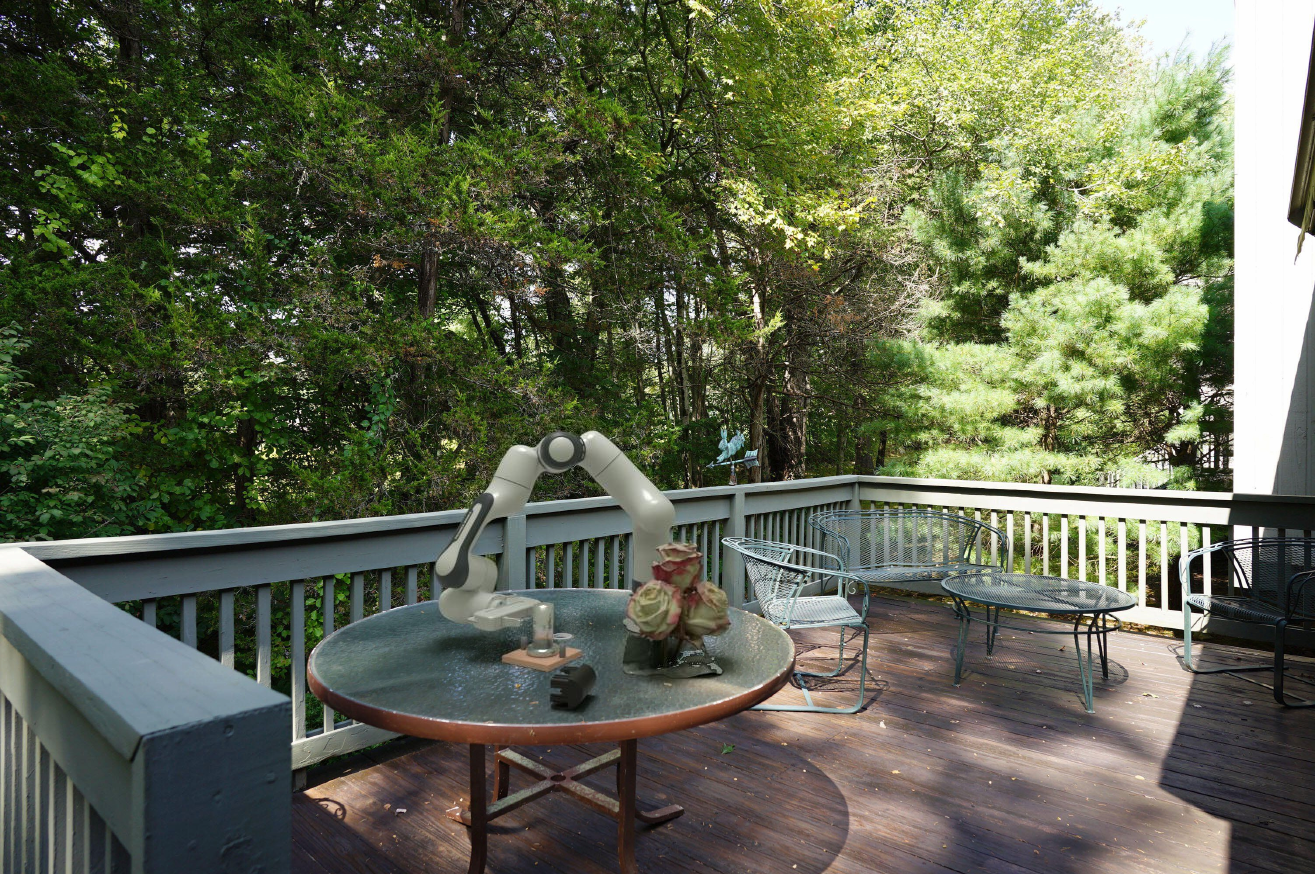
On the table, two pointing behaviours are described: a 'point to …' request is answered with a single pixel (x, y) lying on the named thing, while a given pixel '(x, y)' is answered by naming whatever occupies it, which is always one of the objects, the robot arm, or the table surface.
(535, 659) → the locating plate
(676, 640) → the rose bouquet
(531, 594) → the table surface
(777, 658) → the table surface
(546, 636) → the hub
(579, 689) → the end cap
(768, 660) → the table surface
